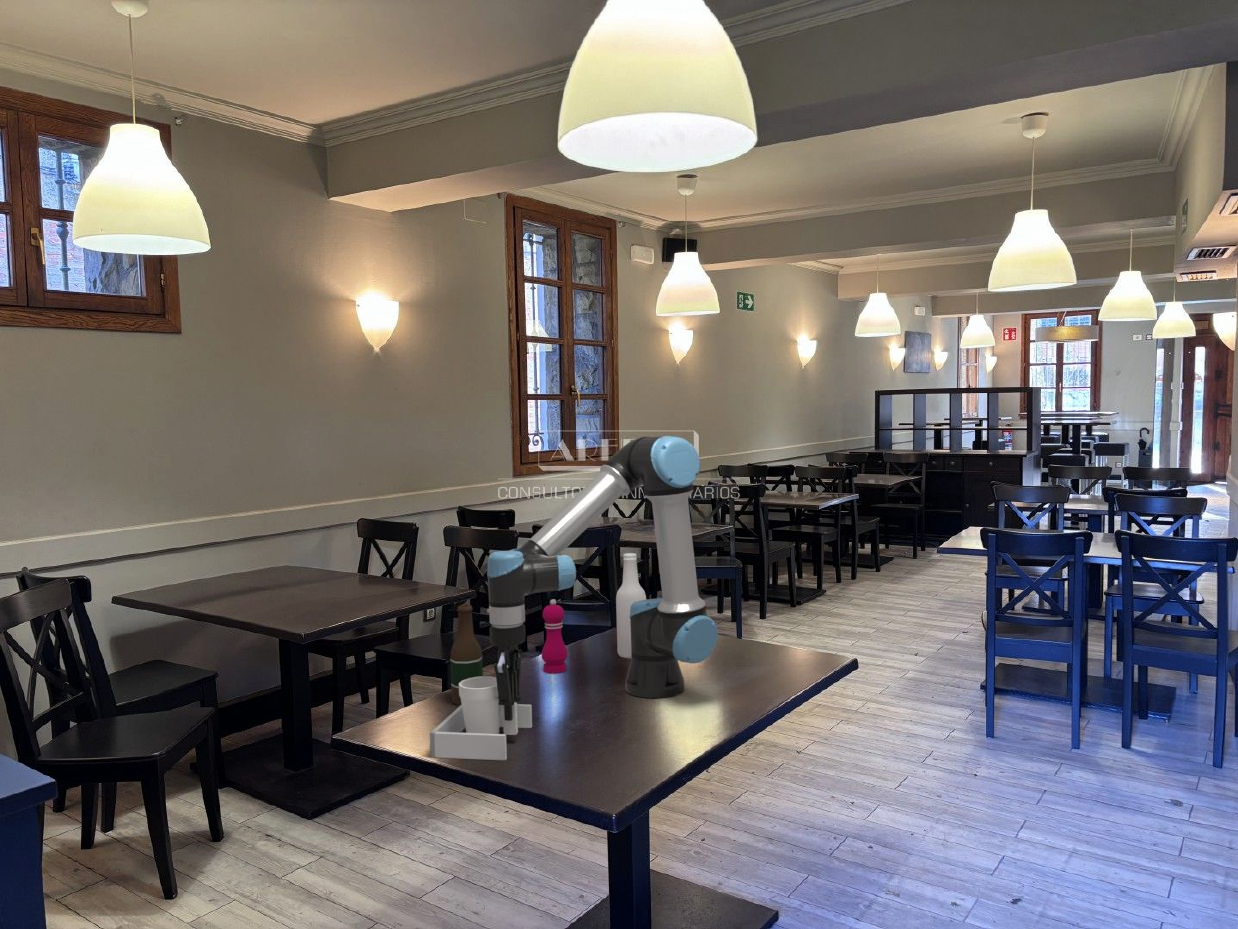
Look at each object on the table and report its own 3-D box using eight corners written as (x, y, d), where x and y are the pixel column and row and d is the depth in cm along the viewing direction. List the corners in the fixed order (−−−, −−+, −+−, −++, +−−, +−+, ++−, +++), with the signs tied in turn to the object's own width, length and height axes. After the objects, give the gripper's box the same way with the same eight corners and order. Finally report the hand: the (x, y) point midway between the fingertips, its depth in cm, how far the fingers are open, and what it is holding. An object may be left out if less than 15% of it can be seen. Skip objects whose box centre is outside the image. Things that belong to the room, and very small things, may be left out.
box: (532, 726, 193) (531, 704, 193) (505, 760, 173) (504, 736, 173) (464, 724, 196) (463, 702, 196) (430, 757, 176) (429, 733, 176)
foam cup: (459, 737, 187) (456, 678, 187) (501, 732, 190) (499, 674, 189) (463, 753, 178) (461, 691, 178) (508, 747, 181) (506, 686, 180)
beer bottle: (468, 708, 207) (465, 610, 206) (445, 703, 211) (442, 607, 210) (490, 699, 214) (487, 604, 213) (466, 695, 218) (463, 601, 217)
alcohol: (620, 660, 248) (618, 556, 247) (614, 652, 256) (612, 552, 255) (650, 657, 249) (647, 555, 248) (643, 650, 258) (641, 551, 257)
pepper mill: (564, 674, 234) (562, 602, 233) (538, 673, 236) (536, 601, 235) (570, 667, 241) (568, 596, 240) (546, 666, 243) (544, 596, 242)
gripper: (499, 617, 190) (503, 722, 190) (480, 631, 177) (484, 744, 178) (532, 617, 188) (535, 723, 189) (515, 631, 175) (519, 745, 176)
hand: (510, 733), depth 183 cm, fingers closed
